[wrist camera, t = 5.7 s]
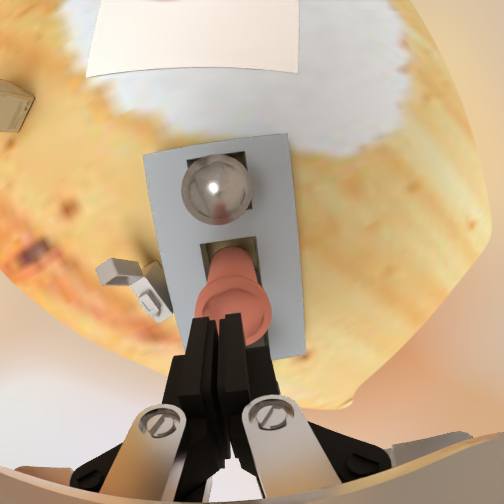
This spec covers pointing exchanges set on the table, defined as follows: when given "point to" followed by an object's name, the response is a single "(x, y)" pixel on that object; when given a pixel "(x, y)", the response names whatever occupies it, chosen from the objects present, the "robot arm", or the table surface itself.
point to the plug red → (235, 293)
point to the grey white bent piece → (140, 284)
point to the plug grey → (216, 189)
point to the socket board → (233, 234)
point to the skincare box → (13, 106)
